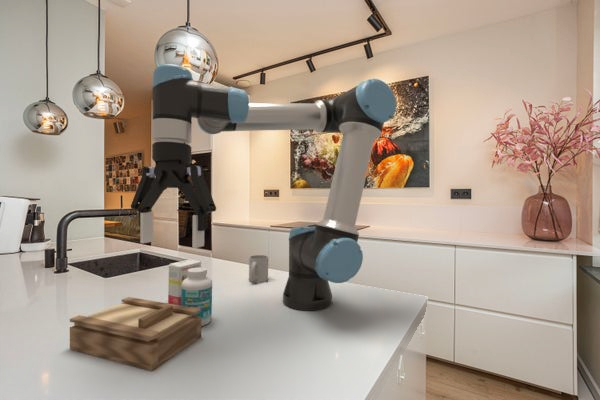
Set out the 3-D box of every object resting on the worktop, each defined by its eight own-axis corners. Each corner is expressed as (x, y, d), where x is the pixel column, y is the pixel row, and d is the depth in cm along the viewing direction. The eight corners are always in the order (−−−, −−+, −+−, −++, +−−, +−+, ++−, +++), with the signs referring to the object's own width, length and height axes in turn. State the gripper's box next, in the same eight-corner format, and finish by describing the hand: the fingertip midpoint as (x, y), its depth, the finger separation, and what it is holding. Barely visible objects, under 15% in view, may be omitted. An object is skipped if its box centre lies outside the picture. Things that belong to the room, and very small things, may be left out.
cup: (270, 278, 115) (270, 255, 114) (261, 286, 105) (261, 261, 105) (253, 277, 116) (253, 254, 116) (242, 284, 107) (242, 260, 106)
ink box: (178, 307, 85) (178, 266, 84) (167, 304, 87) (167, 264, 87) (201, 298, 92) (202, 260, 92) (190, 295, 95) (191, 258, 94)
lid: (192, 316, 67) (192, 304, 67) (148, 341, 55) (148, 327, 55) (125, 304, 74) (125, 293, 74) (74, 325, 62) (74, 311, 62)
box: (201, 336, 67) (201, 308, 67) (152, 371, 54) (152, 336, 54) (128, 322, 75) (128, 296, 74) (69, 349, 61) (69, 318, 61)
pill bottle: (182, 331, 70) (182, 274, 70) (179, 319, 77) (179, 267, 76) (214, 325, 73) (214, 271, 73) (209, 314, 80) (209, 264, 80)
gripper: (233, 143, 61) (232, 245, 61) (142, 148, 69) (141, 238, 70) (211, 136, 54) (210, 252, 54) (112, 143, 62) (111, 243, 63)
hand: (171, 244), depth 62 cm, fingers open, 13 cm apart
